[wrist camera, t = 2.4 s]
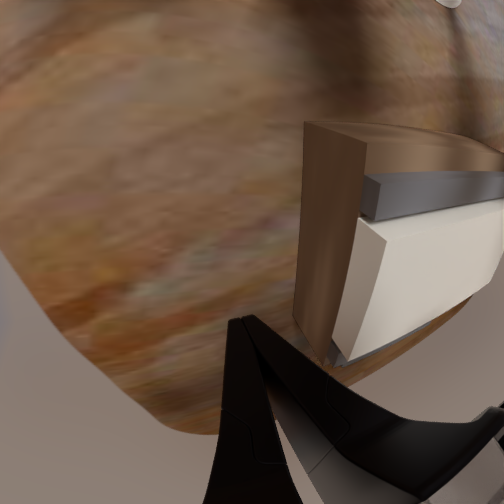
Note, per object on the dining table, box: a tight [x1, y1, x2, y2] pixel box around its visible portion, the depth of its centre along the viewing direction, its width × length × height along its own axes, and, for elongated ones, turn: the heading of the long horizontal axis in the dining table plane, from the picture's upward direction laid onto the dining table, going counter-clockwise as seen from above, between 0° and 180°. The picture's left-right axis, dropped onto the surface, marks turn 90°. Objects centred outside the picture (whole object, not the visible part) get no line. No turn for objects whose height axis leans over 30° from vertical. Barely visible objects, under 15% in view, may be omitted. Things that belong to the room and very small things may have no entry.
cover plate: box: [332, 197, 504, 361], centre depth 11 cm, size 13×6×2 cm, turn 92°
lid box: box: [293, 122, 504, 368], centre depth 13 cm, size 13×11×5 cm
